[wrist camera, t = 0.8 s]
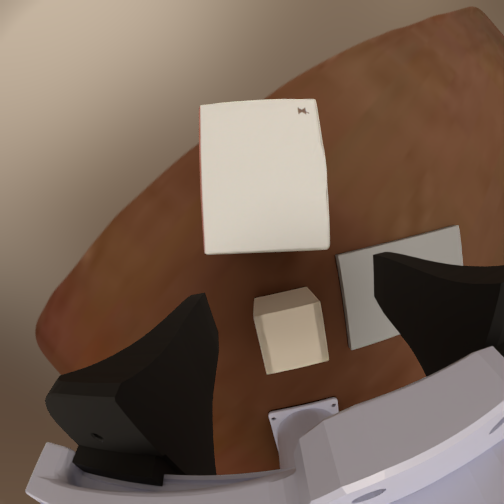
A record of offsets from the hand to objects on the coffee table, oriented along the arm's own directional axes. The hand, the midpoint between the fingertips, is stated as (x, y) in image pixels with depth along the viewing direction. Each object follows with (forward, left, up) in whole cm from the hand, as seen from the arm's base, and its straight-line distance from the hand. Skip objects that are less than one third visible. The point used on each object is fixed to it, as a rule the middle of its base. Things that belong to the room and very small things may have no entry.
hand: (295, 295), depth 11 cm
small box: (+6, 0, -15) cm, 16 cm away
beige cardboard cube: (-6, 0, -15) cm, 16 cm away
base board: (-6, -14, -15) cm, 21 cm away
